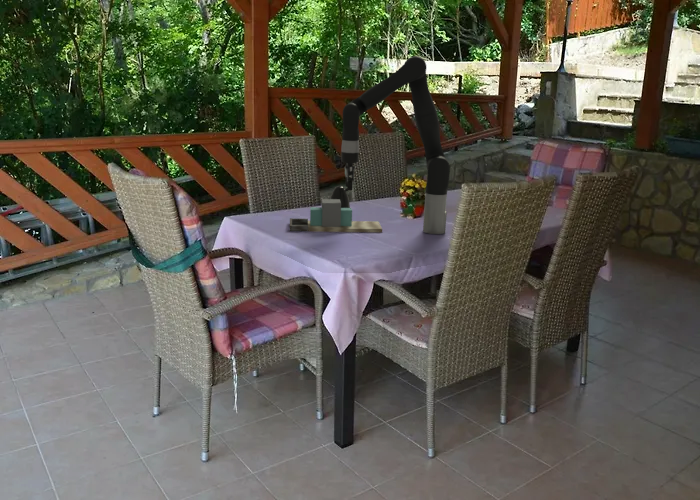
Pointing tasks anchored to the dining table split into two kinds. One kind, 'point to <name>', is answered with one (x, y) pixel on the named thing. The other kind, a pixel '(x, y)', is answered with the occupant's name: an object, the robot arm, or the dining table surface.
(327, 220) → the tunnel
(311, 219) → the teal pillar
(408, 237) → the dining table surface
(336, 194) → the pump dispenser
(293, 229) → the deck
